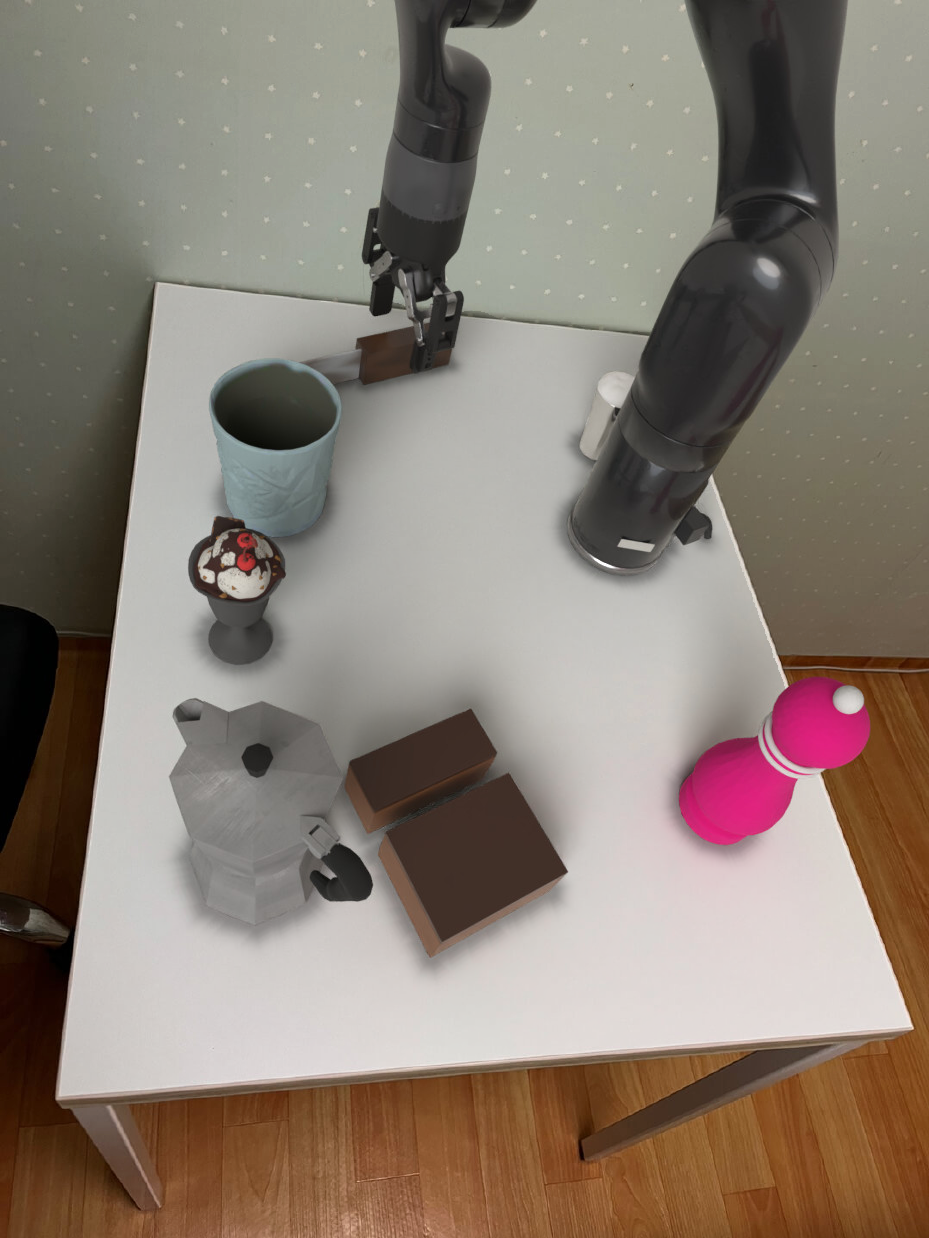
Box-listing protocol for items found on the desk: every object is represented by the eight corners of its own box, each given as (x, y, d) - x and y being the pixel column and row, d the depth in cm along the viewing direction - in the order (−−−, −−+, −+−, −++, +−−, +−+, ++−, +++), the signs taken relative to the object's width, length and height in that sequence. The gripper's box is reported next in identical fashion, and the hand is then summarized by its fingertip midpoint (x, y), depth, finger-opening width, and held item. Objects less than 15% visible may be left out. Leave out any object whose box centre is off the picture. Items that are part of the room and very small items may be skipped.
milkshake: (624, 469, 88) (662, 397, 79) (574, 462, 87) (606, 388, 79) (621, 437, 90) (657, 363, 82) (571, 429, 89) (603, 354, 81)
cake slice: (458, 735, 68) (471, 707, 64) (483, 778, 67) (498, 753, 63) (343, 787, 64) (349, 760, 60) (367, 834, 63) (374, 810, 59)
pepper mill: (706, 866, 66) (852, 765, 50) (655, 784, 69) (777, 663, 53) (774, 829, 69) (934, 722, 53) (723, 752, 72) (859, 628, 56)
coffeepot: (140, 839, 59) (99, 729, 45) (246, 750, 64) (240, 624, 49) (296, 1003, 56) (309, 943, 41) (396, 896, 61) (439, 808, 46)
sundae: (268, 684, 68) (269, 574, 55) (184, 661, 67) (166, 546, 55) (294, 616, 71) (301, 499, 59) (215, 594, 71) (204, 472, 58)
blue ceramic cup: (335, 465, 81) (345, 366, 71) (329, 552, 75) (339, 458, 65) (223, 453, 79) (217, 350, 69) (209, 541, 74) (200, 443, 64)
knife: (437, 349, 92) (444, 319, 89) (448, 364, 91) (455, 334, 88) (249, 393, 83) (249, 361, 80) (259, 410, 83) (259, 378, 79)
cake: (494, 796, 66) (509, 771, 62) (548, 891, 63) (568, 871, 59) (377, 854, 62) (385, 831, 58) (429, 958, 59) (442, 942, 55)
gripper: (506, 235, 72) (466, 381, 85) (424, 136, 77) (398, 288, 91) (429, 249, 69) (400, 398, 82) (349, 145, 74) (333, 301, 87)
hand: (399, 340), depth 86 cm, fingers open, 8 cm apart
